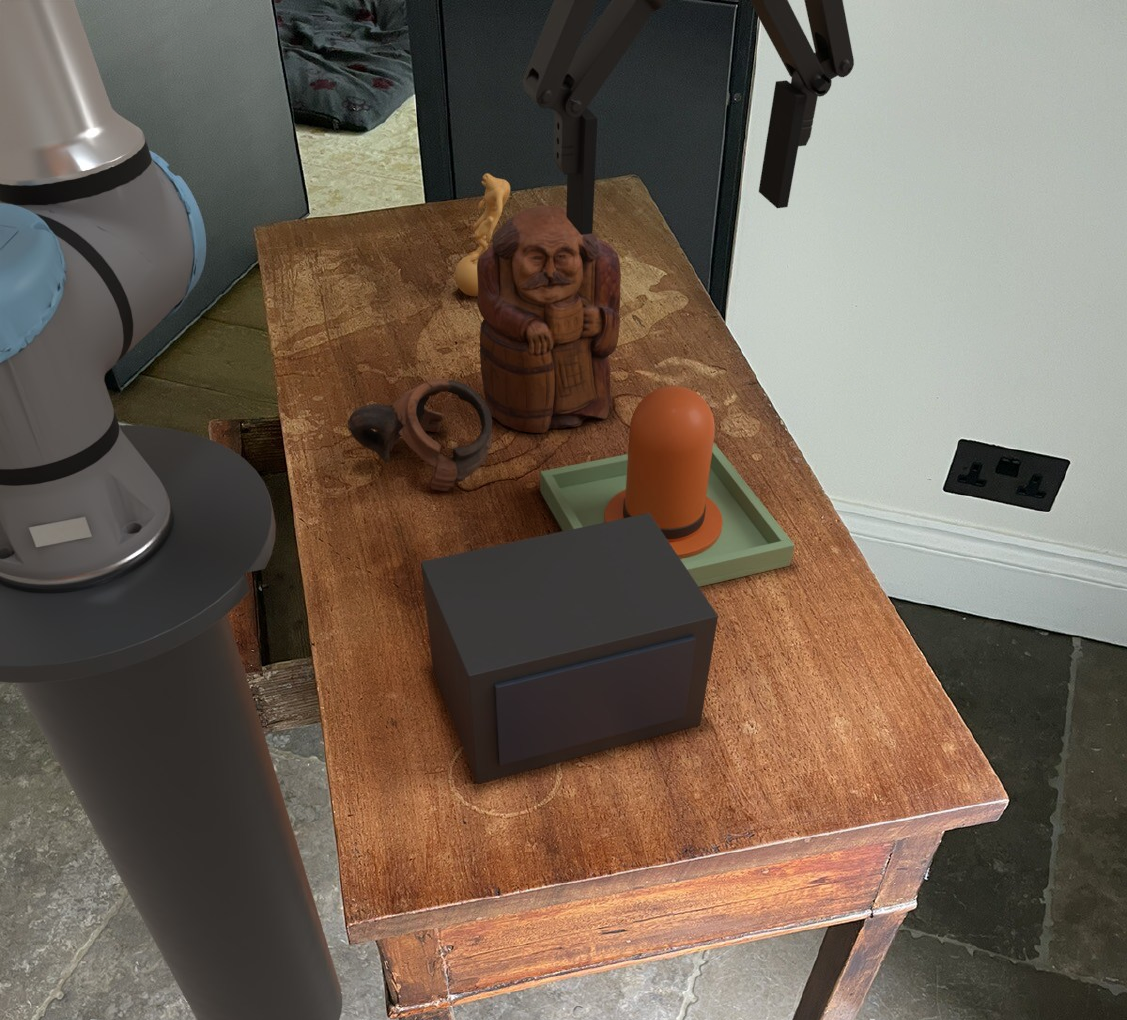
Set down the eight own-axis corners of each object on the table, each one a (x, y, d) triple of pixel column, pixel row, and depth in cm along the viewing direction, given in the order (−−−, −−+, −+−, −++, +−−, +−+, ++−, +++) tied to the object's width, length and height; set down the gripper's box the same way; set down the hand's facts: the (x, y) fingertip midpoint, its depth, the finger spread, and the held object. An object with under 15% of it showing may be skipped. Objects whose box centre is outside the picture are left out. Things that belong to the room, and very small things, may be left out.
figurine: (453, 277, 116) (445, 158, 106) (508, 274, 116) (505, 155, 107) (458, 314, 110) (451, 192, 101) (516, 311, 111) (514, 189, 102)
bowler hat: (587, 500, 89) (591, 370, 80) (692, 478, 91) (708, 349, 82) (630, 570, 83) (640, 438, 74) (741, 545, 85) (764, 414, 76)
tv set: (432, 671, 76) (420, 561, 69) (639, 622, 80) (649, 512, 72) (478, 787, 69) (469, 679, 62) (702, 727, 73) (720, 618, 65)
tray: (540, 492, 90) (539, 471, 89) (707, 458, 94) (710, 437, 92) (606, 608, 81) (607, 587, 79) (790, 565, 84) (794, 544, 83)
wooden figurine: (495, 441, 95) (486, 235, 82) (480, 403, 99) (469, 201, 86) (621, 423, 97) (633, 220, 84) (601, 387, 101) (610, 187, 88)
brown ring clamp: (466, 423, 98) (494, 370, 90) (479, 517, 95) (509, 470, 88) (335, 413, 93) (353, 355, 86) (345, 511, 91) (365, 460, 83)
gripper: (505, -216, 47) (511, 263, 63) (983, -229, 53) (877, 212, 69) (458, -242, 52) (475, 211, 68) (903, -252, 58) (821, 167, 74)
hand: (678, 212), depth 68 cm, fingers open, 13 cm apart
